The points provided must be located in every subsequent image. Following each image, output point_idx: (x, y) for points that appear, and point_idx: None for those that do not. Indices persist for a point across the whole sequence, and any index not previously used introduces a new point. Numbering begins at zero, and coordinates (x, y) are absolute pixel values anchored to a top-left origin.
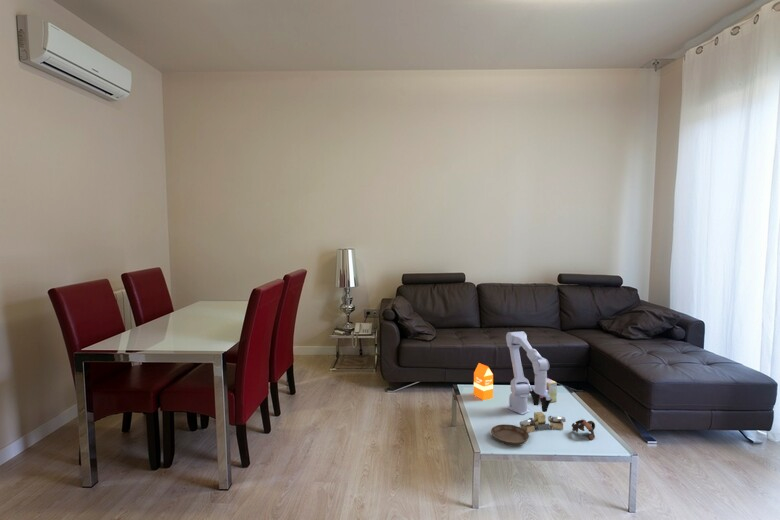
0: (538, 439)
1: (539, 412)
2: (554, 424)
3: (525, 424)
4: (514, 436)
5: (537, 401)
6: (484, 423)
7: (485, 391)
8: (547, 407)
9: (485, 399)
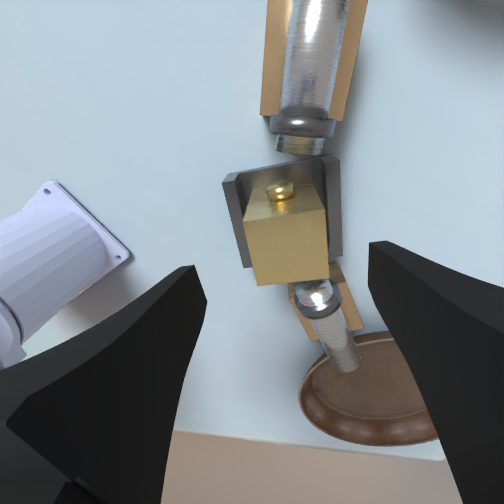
0: None
1: (256, 241)
2: (343, 107)
3: (355, 343)
4: (376, 363)
5: (179, 302)
6: (243, 410)
7: None
8: (430, 267)
9: None
